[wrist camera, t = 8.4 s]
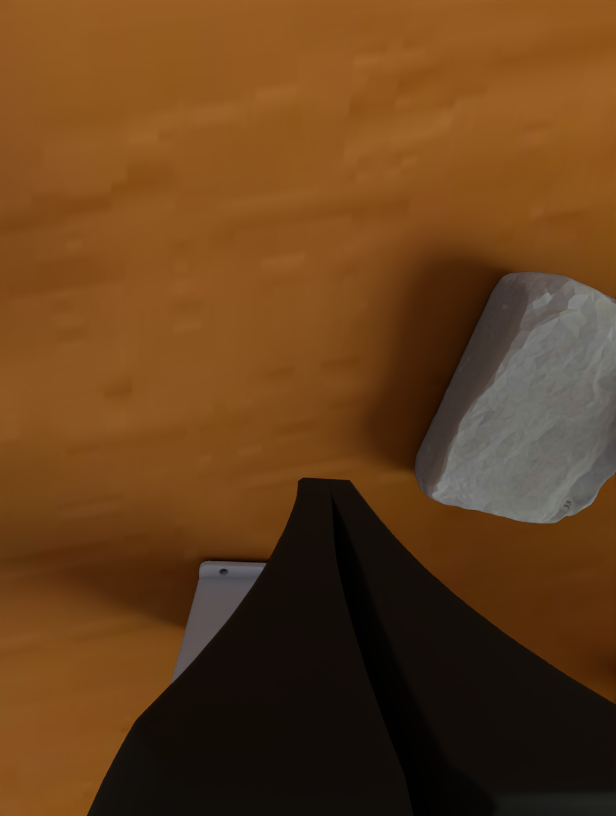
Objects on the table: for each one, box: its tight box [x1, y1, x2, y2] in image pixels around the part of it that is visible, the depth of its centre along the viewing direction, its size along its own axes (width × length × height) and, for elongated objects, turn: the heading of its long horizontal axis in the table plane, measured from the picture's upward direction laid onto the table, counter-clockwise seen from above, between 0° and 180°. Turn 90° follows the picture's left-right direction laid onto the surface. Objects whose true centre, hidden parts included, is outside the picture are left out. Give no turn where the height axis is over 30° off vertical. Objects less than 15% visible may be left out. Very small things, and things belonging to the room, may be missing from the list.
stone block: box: [415, 272, 616, 523], centre depth 19 cm, size 12×5×10 cm
